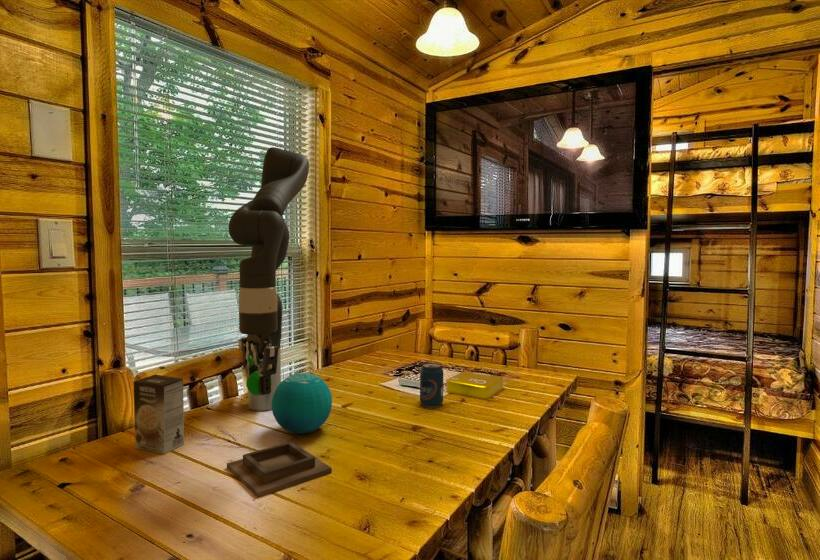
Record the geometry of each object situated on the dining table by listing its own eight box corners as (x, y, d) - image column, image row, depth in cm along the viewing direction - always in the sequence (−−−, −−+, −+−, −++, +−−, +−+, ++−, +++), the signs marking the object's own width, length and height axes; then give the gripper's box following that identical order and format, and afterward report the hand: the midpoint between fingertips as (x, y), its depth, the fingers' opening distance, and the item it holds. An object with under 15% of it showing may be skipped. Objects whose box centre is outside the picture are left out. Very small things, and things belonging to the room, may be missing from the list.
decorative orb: (259, 438, 119) (258, 378, 118) (294, 418, 133) (293, 364, 132) (312, 447, 114) (312, 384, 113) (342, 425, 128) (342, 369, 127)
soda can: (416, 406, 144) (416, 366, 143) (424, 399, 150) (424, 361, 149) (438, 409, 141) (439, 368, 140) (446, 402, 148) (446, 363, 147)
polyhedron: (257, 399, 97) (257, 376, 97) (241, 395, 100) (241, 372, 99) (277, 393, 101) (276, 370, 101) (261, 389, 104) (261, 367, 104)
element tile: (504, 389, 163) (505, 375, 163) (486, 401, 150) (487, 385, 150) (464, 382, 171) (464, 369, 171) (443, 393, 158) (444, 378, 158)
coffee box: (133, 449, 113) (131, 380, 111) (156, 438, 119) (154, 374, 117) (164, 454, 110) (162, 384, 108) (186, 444, 116) (184, 377, 114)
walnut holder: (226, 467, 103) (226, 454, 103) (295, 448, 114) (295, 435, 113) (257, 497, 91) (257, 482, 91) (331, 472, 101) (331, 458, 101)
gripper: (290, 311, 96) (291, 395, 97) (262, 304, 107) (263, 380, 108) (253, 314, 91) (255, 403, 93) (227, 306, 102) (229, 386, 104)
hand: (259, 390), depth 100 cm, fingers closed on polyhedron, 5 cm apart
